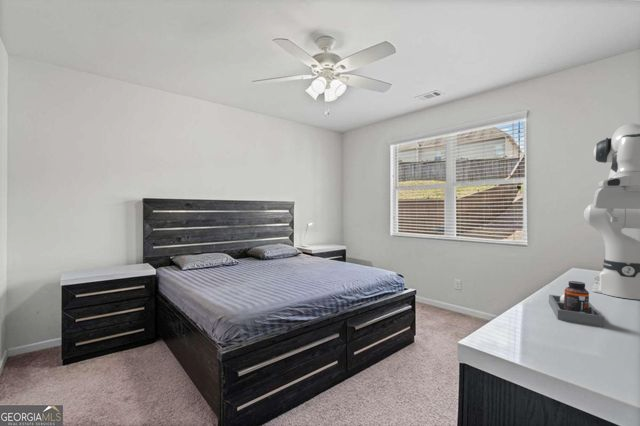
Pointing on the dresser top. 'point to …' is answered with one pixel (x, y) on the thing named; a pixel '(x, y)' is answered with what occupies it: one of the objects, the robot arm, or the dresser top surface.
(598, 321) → the divided tray
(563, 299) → the ceramic ball
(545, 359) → the dresser top surface
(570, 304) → the supplement bottle
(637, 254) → the robot arm
